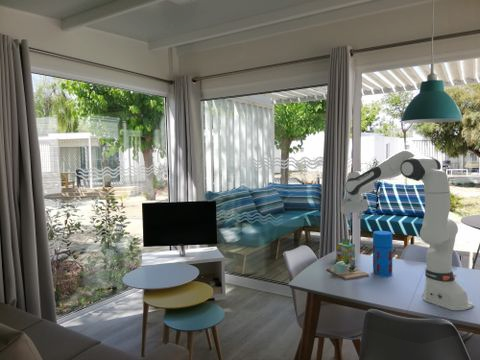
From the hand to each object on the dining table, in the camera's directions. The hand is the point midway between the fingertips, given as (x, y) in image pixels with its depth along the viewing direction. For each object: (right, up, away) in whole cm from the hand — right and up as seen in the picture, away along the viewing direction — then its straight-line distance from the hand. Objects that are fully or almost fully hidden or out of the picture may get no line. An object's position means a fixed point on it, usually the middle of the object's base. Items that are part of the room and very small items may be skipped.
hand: (354, 219), depth 234 cm
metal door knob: (-3, -31, -5) cm, 31 cm away
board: (-6, -32, -7) cm, 33 cm away
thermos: (+14, -32, -10) cm, 36 cm away
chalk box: (0, -30, +18) cm, 35 cm away
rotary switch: (-11, -31, -9) cm, 34 cm away
